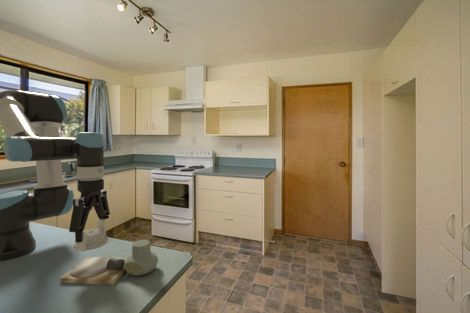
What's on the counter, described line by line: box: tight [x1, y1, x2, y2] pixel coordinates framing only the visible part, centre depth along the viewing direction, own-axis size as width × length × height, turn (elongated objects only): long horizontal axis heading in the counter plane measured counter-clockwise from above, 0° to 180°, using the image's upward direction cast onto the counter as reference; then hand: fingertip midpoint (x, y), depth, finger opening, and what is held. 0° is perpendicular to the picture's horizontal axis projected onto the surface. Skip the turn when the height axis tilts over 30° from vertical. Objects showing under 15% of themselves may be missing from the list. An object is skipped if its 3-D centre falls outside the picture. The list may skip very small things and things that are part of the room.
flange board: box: [59, 256, 127, 286], centre depth 78 cm, size 17×13×5 cm
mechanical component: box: [73, 227, 109, 251], centre depth 78 cm, size 10×4×10 cm
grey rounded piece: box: [124, 239, 159, 277], centre depth 80 cm, size 11×8×10 cm
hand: (92, 243), depth 78 cm, fingers closed on mechanical component, 10 cm apart
